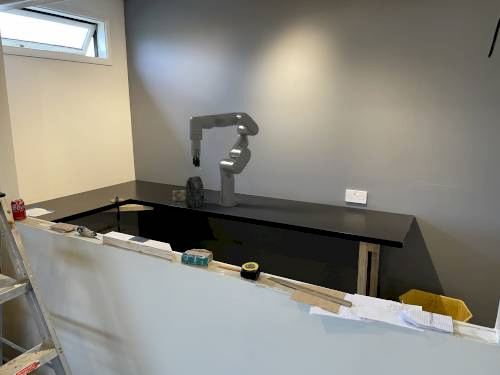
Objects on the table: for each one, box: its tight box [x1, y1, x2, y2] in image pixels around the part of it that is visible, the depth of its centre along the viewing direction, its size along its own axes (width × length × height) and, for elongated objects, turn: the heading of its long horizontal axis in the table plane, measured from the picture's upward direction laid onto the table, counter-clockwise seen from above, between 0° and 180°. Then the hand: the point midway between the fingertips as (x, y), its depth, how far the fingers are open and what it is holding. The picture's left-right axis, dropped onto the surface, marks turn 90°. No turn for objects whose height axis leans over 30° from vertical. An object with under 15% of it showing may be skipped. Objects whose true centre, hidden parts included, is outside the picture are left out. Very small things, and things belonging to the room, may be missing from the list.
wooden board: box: [172, 189, 186, 202], centre depth 248 cm, size 20×2×7 cm, turn 104°
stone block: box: [184, 175, 205, 209], centre depth 234 cm, size 18×9×20 cm, turn 161°
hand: (196, 165), depth 214 cm, fingers open, 9 cm apart
